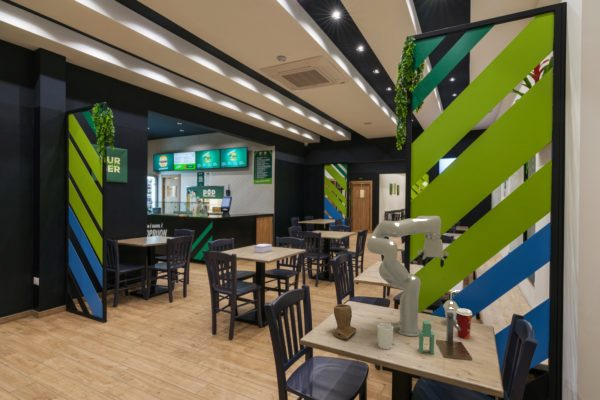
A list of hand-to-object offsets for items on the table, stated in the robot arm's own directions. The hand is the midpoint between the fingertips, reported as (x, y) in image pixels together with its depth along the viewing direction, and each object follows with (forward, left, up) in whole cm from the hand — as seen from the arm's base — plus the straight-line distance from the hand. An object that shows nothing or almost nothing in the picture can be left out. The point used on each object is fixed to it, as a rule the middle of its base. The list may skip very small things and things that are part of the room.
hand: (432, 266), depth 188 cm
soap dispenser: (+11, +1, -34) cm, 35 cm away
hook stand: (+3, -33, -33) cm, 47 cm away
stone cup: (-50, -25, -34) cm, 65 cm away
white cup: (-29, -35, -34) cm, 56 cm away
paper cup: (+13, -15, -34) cm, 39 cm away
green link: (-10, -37, -33) cm, 51 cm away
